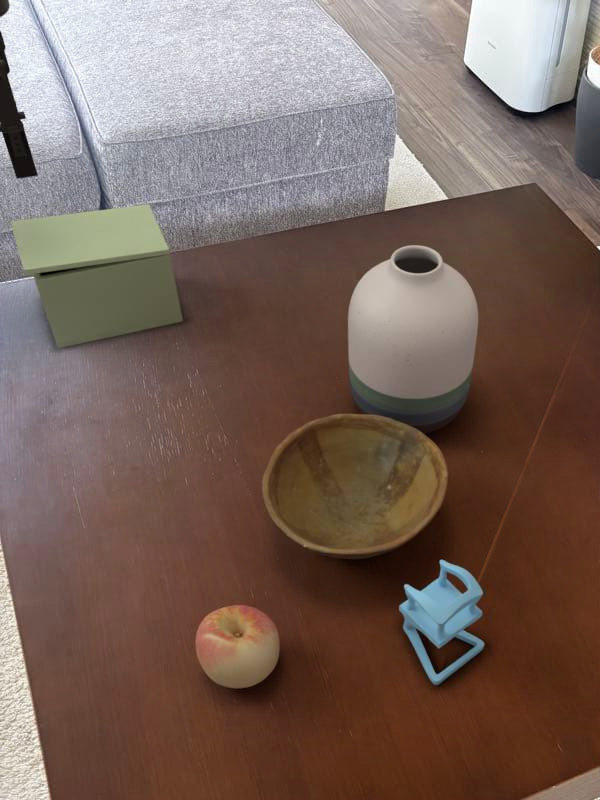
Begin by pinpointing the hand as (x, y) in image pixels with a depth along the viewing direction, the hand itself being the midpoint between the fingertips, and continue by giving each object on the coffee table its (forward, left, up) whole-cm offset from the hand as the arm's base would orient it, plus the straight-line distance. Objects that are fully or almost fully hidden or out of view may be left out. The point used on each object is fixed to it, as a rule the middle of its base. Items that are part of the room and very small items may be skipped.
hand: (26, 174), depth 114 cm
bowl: (+57, -22, -24) cm, 65 cm away
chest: (+5, +4, -23) cm, 24 cm away
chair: (+72, -34, -24) cm, 83 cm away
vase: (+55, +2, -24) cm, 60 cm away
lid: (+4, +4, -11) cm, 12 cm away
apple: (+53, -45, -24) cm, 73 cm away
